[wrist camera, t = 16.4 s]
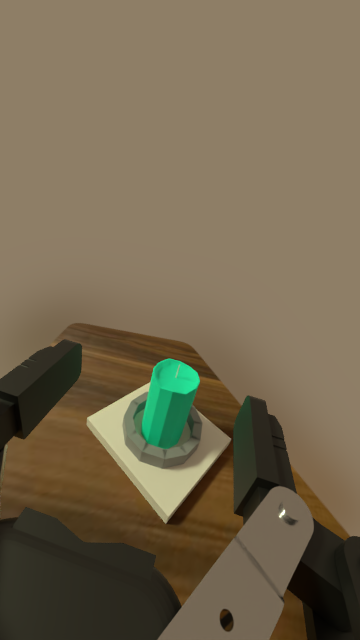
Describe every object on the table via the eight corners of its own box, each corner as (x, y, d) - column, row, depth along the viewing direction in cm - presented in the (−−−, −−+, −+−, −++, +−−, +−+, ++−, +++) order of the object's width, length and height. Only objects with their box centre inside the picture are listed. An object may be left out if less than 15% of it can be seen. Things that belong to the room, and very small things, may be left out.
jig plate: (228, 445, 36) (235, 430, 35) (165, 523, 26) (172, 507, 24) (156, 383, 44) (159, 369, 43) (86, 425, 34) (87, 408, 32)
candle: (136, 416, 35) (149, 351, 30) (173, 409, 38) (191, 349, 32) (146, 454, 31) (164, 385, 25) (188, 443, 33) (212, 379, 28)
